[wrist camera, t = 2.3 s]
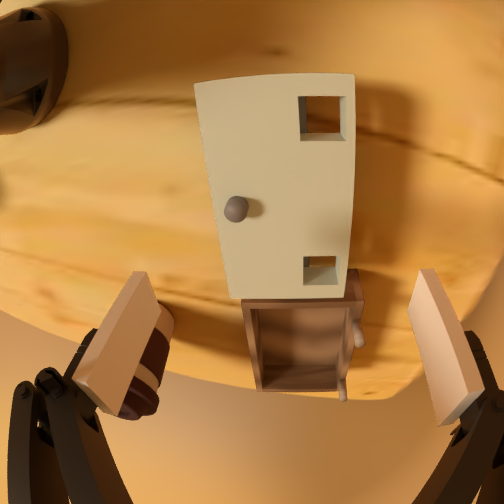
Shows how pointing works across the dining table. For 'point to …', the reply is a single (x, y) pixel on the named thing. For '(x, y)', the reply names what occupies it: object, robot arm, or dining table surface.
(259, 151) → the door
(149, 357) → the coffee cup
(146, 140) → the dining table surface
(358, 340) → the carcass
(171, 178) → the dining table surface
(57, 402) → the robot arm
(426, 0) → the dining table surface
